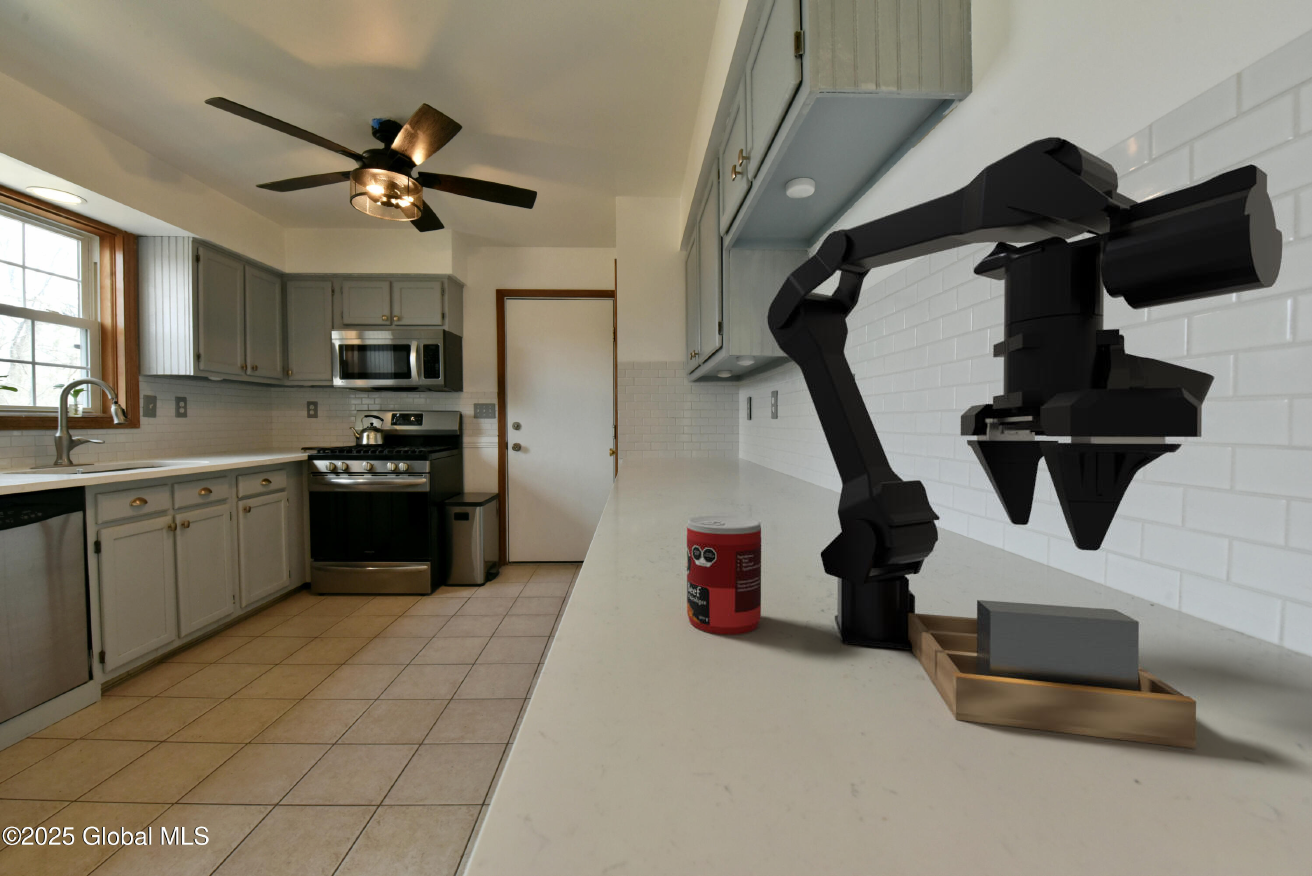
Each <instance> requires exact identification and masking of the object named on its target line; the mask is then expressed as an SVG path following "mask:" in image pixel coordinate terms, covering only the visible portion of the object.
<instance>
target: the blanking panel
mask: <svg viewBox="0 0 1312 876" xmlns="http://www.w3.org/2000/svg"><path fill="white" fill-rule="evenodd" d="M976 618H977V675H983V676H993V677H1003V678H1013V679H1023V680H1033V681H1042V682H1052V683H1062V684H1072V685H1082V686H1091V687H1101V688H1111V689H1121V690H1131V691H1138V666H1139V654H1140V653H1139V650H1140V649H1139V647H1140V646H1139V635H1140V633H1139V631H1140V630H1139V628H1140V626H1139V625H1140V624H1139V623H1140V622H1139V621H1138V620H1136V619H1135V618H1132V617H1131V616H1129V615H1127V614H1125V613H1123V612H1120V611H1119V610H1117V609H1114V608H1113V609H1112V608H1098V607H1097V608H1096V607H1085V606H1083V607H1082V606H1069V605H1054V604H1040V603H1026V602H1015V601H1014V602H1011V601H1010V602H1009V601H1000V600H999V601H997V600H983V599H977V600H976Z"/></svg>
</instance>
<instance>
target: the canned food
mask: <svg viewBox="0 0 1312 876" xmlns="http://www.w3.org/2000/svg"><path fill="white" fill-rule="evenodd" d="M686 613H687V617H688V620H689V623H690V624H691V625H692V626H693V627H694V628H695V629H698V630H701V631H702V632H706V633H709V634H715V635H724V636H727V635H728V636H734V635H743V634H747V633H750V632H753V631H754V630H756V629H757V627H759V624H760V622H761V619H762V526H761V522H760V521H759V520H756V519H754V518H750V517H743V516H737V515H735V516H734V515H703V516H695V517H692V518H690V519H688V520H687V524H686Z"/></svg>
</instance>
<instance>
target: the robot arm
mask: <svg viewBox="0 0 1312 876" xmlns="http://www.w3.org/2000/svg"><path fill="white" fill-rule="evenodd" d="M1118 179H1119V178H1118V173H1117V171H1116V170H1115V168H1114V167H1113V165H1112V164H1111V163H1109V162H1108V161H1105V160H1104V159H1102V158H1100V157H1099V156H1097V155H1095V154H1093V153H1091V152H1089V151H1087V150H1086V149H1084V148H1082V147H1080V146H1078V145H1077V144H1074V143H1072V142H1071V141H1069V140H1067V139H1064V138H1062V137H1059V136H1058V137H1057V136H1056V137H1055V136H1049V137H1045V138H1042V139H1041V138H1040V139H1037V140H1034V141H1032V142H1030V143H1028V144H1025V145H1024V146H1023V147H1020V148H1018V149H1017V150H1014V151H1013V152H1010V153H1009V154H1007V155H1006V156H1004V157H1002V158H1000V159H998V160H996V161H994V162H992V163H990V164H989V165H987V166H985V167H984V168H983V169H982V170H981V171H980V172H979V173H978V174H977V175H976V176H975V177H974V178H973V179H971V181H969V183H967V184H966V185H964V186H963V187H960V188H959V189H956V190H954V191H952V192H950V193H948V194H945V195H942V196H941V195H940V196H939V197H937V198H933V199H930V200H927V201H924V202H922V203H918V204H915V205H914V206H910V207H907V208H904V209H902V210H899V211H896V212H893V213H890V214H887V215H885V216H881V217H879V218H875V219H873V220H870V221H868V222H864V223H862V224H859V225H856V226H853V227H851V228H847V229H843V228H842V229H838V230H833V231H832V232H831V233H828V235H827V236H826V237H825V239H824V240H823V241H822V243H821V244H820V246H819V248H818V249H817V250H816V252H815V254H813V255H812V256H811V257H809V258H808V259H807V260H805V261H804V263H802V264H801V265H800V266H798V267H797V268H795V269H794V270H793V271H792V272H791V273H789V274H788V275H787V277H786V279H785V280H784V282H783V283H782V286H781V287H780V288H779V290H778V292H777V293H776V295H775V297H774V298H773V300H772V301H771V303H770V305H769V308H768V310H767V311H768V312H767V317H766V319H767V325H768V327H767V328H768V329H769V332H770V333H771V335H772V337H773V338H774V341H775V343H776V344H777V346H778V348H779V349H780V351H782V353H784V354H785V355H786V356H787V357H788V358H789V359H790V360H791V361H793V362H794V364H796V365H797V367H799V368H800V371H801V373H802V376H803V379H804V381H805V384H806V387H807V390H808V393H809V395H810V399H811V400H812V403H813V406H814V409H815V412H816V414H817V417H818V419H819V422H820V426H821V428H822V431H823V433H824V436H825V439H826V442H827V445H828V448H829V450H830V452H831V455H832V457H833V461H834V464H835V466H836V469H837V473H838V474H839V477H840V480H841V484H842V485H841V486H842V487H841V492H840V497H839V500H838V505H837V506H838V507H837V516H838V521H839V525H840V531H841V532H840V533H838V535H837V536H836V537H835V538H834V539H833V540H832V541H831V542H829V544H827V546H825V548H824V549H822V550H821V552H820V558H821V562H822V566H823V569H824V573H825V574H826V575H828V576H832V577H835V578H837V611H836V612H837V613H836V615H834V622H835V626H836V629H837V631H838V634H839V638H840V641H841V642H842V643H844V644H852V645H860V646H861V645H863V646H871V647H872V646H873V647H881V648H882V647H884V648H893V649H894V648H895V649H904V650H911V649H912V644H911V642H910V640H909V639H908V614H909V613H916V595H915V594H914V593H913V592H912V591H911V590H910V579H909V578H908V577H907V576H909V575H918V574H920V572H921V569H922V567H923V564H924V562H925V559H926V558H928V557H929V556H930V555H931V553H932V552H933V551H934V548H935V546H936V543H937V542H938V541H939V532H938V528H937V525H936V522H935V521H940V519H941V518H940V516H939V515H938V514H937V513H936V512H935V511H934V509H933V507H932V505H931V504H930V501H929V497H928V493H927V490H926V488H925V485H924V484H923V482H922V481H921V480H920V479H918V480H917V479H916V480H915V479H913V480H903V479H902V478H901V477H900V476H899V475H898V474H897V473H896V472H895V471H894V470H893V469H892V466H891V465H890V463H889V459H888V458H887V454H886V453H885V450H884V448H883V444H882V443H881V440H880V437H879V435H878V433H877V430H876V428H875V425H874V424H873V420H872V417H871V416H870V414H869V410H868V409H867V407H866V403H865V401H864V398H863V396H862V394H861V392H860V389H859V387H858V383H857V382H856V380H855V377H854V375H853V373H852V370H851V366H850V365H849V362H848V360H847V358H846V354H845V348H846V344H847V343H846V342H847V338H848V334H849V328H848V324H847V321H846V319H847V318H848V317H849V316H850V314H851V313H852V312H853V310H854V309H855V307H856V306H857V305H858V302H859V299H860V295H861V291H862V287H863V283H864V279H865V278H866V277H867V276H868V274H869V272H871V270H872V269H875V268H879V267H883V266H887V265H892V264H896V263H900V262H903V261H907V260H912V259H916V258H920V257H924V256H928V255H932V254H937V253H940V252H944V251H948V250H949V251H950V250H953V249H956V248H960V247H964V246H968V245H972V244H982V243H983V244H984V243H996V245H995V246H994V248H993V249H992V250H991V252H990V253H988V255H986V256H985V257H984V258H982V259H981V260H980V261H979V263H978V264H976V265H975V267H973V274H974V275H975V276H980V277H983V278H988V279H991V280H995V281H1004V283H1003V284H1004V285H1003V286H1004V289H1003V290H1004V291H1003V295H1004V298H1003V300H1004V301H1003V303H1004V305H1003V306H1004V307H1003V309H1004V310H1003V312H1004V313H1003V323H1004V324H1003V340H1002V341H999V342H998V343H997V342H996V343H995V344H993V347H992V349H993V351H992V352H993V353H992V356H993V357H992V358H1003V385H1002V386H1003V387H1002V389H1003V392H1002V393H1003V394H999V395H994V396H992V403H983V404H977V405H971V406H970V407H969V408H968V409H967V410H966V411H964V412H963V413H962V414H961V415H960V436H962V437H963V436H964V437H967V436H968V437H972V436H973V437H974V436H976V439H967V440H966V444H967V446H968V447H970V448H971V449H972V451H973V453H974V454H975V456H976V458H977V461H978V462H979V464H980V466H981V467H982V469H983V471H984V473H985V475H986V476H987V478H988V480H989V482H990V484H991V486H992V489H993V490H994V491H995V494H996V496H997V498H998V500H999V501H1000V503H1001V505H1002V506H1001V507H1003V510H1004V512H1005V513H1006V515H1007V518H1008V519H1009V521H1010V523H1011V524H1012V525H1015V526H1017V525H1018V526H1026V525H1028V524H1029V522H1030V517H1031V513H1032V510H1033V509H1032V508H1033V503H1034V495H1035V489H1036V483H1037V477H1038V471H1039V470H1038V469H1039V462H1040V461H1041V459H1043V458H1044V461H1045V465H1046V467H1047V470H1048V472H1049V475H1050V478H1051V481H1052V482H1051V483H1052V484H1053V487H1054V488H1053V489H1054V490H1055V493H1056V496H1057V498H1058V502H1059V505H1060V508H1061V511H1062V514H1063V517H1064V520H1065V522H1066V525H1067V529H1068V530H1069V533H1070V535H1071V538H1072V540H1073V543H1074V545H1075V547H1076V548H1077V549H1078V550H1081V551H1094V552H1096V551H1098V550H1099V549H1101V546H1102V544H1103V542H1104V540H1105V538H1106V535H1107V533H1108V530H1109V529H1110V527H1111V524H1112V522H1113V519H1114V518H1115V515H1116V512H1117V511H1118V509H1119V507H1120V505H1121V502H1122V500H1123V497H1124V496H1125V494H1126V492H1127V490H1128V488H1129V486H1130V485H1131V483H1132V481H1133V479H1134V478H1135V476H1136V474H1137V473H1138V472H1139V471H1140V470H1141V469H1143V468H1144V467H1146V466H1148V465H1149V464H1151V463H1152V462H1154V461H1155V460H1157V459H1158V458H1160V457H1163V455H1165V454H1168V453H1170V454H1171V453H1174V454H1175V453H1176V452H1177V451H1178V450H1179V449H1180V448H1181V447H1182V445H1183V444H1182V443H1168V442H1167V443H1166V438H1202V423H1203V421H1202V418H1203V416H1202V415H1203V413H1202V411H1203V410H1202V407H1203V404H1204V402H1205V399H1206V397H1207V395H1208V393H1209V391H1210V389H1211V387H1212V384H1213V382H1214V380H1215V376H1214V375H1212V374H1210V373H1207V372H1203V371H1201V370H1197V369H1193V368H1189V367H1185V366H1182V365H1178V364H1174V363H1171V362H1167V361H1163V360H1160V359H1156V358H1151V357H1148V356H1147V357H1145V356H1139V355H1134V354H1130V353H1126V349H1125V336H1124V334H1122V333H1121V334H1120V329H1119V328H1114V329H1113V328H1112V329H1108V328H1107V329H1104V320H1105V319H1104V311H1105V309H1104V306H1105V305H1104V304H1105V297H1104V294H1105V292H1104V291H1106V293H1107V295H1109V297H1110V298H1113V299H1118V298H1119V299H1120V298H1123V300H1124V301H1125V303H1126V304H1127V306H1129V307H1130V308H1131V309H1133V310H1142V309H1150V308H1155V307H1161V306H1166V305H1172V304H1177V303H1184V302H1189V301H1191V302H1192V301H1195V300H1202V299H1208V298H1213V297H1219V296H1226V295H1231V294H1237V293H1243V292H1251V291H1255V290H1256V291H1257V290H1261V289H1268V288H1271V287H1273V286H1274V284H1276V282H1277V279H1278V277H1279V275H1280V269H1281V265H1282V259H1283V233H1282V231H1281V230H1280V229H1278V228H1277V223H1276V217H1275V212H1274V211H1275V210H1274V208H1273V203H1272V200H1271V197H1270V195H1269V193H1268V173H1266V172H1265V171H1263V170H1262V169H1261V168H1260V167H1258V166H1257V165H1255V164H1251V163H1250V164H1248V165H1244V166H1241V167H1238V168H1235V169H1231V170H1229V171H1226V172H1223V173H1220V174H1218V175H1216V176H1214V177H1212V178H1208V179H1207V180H1206V181H1203V182H1201V183H1198V184H1195V185H1192V186H1189V187H1185V188H1182V189H1179V190H1175V191H1172V192H1169V193H1166V194H1163V195H1159V196H1157V197H1153V198H1150V199H1147V200H1144V201H1140V202H1138V201H1136V200H1135V199H1132V198H1130V197H1128V196H1126V195H1124V194H1122V193H1120V192H1118V188H1119V180H1118ZM1085 233H1086V234H1089V235H1092V236H1089V237H1084V238H1082V239H1078V240H1073V241H1067V240H1069V239H1073V238H1075V237H1077V236H1080V235H1083V234H1085ZM1013 243H1014V244H1024V245H1021V246H1016V245H1014V244H1013ZM837 271H839V272H840V275H839V280H838V285H837V287H836V288H835V290H834V291H833V292H832V294H831V295H829V294H824V293H819V292H818V293H817V292H813V291H814V290H816V289H817V288H818V287H820V286H821V285H822V284H824V283H825V282H826V281H828V280H829V279H830V278H831V277H833V276H834V275H835V274H836V273H837ZM1036 437H1056V438H1057V437H1060V438H1061V437H1063V438H1064V437H1065V438H1068V437H1070V442H1060V441H1059V440H1042V439H1041V440H1039V439H1038V440H1037V439H1036Z"/></svg>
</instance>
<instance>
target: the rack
mask: <svg viewBox="0 0 1312 876" xmlns="http://www.w3.org/2000/svg"><path fill="white" fill-rule="evenodd" d="M908 639H909V640H910V642H911V644H912V649H910V650H911V651H912V653H913V655H914V656H915V658H916V659H917V661H918V663H919V664H920V665H921V668H922V669H923V671H924V672H925V673H926V675H927V677H928V679H929V680H930V681H931V683H932V684H933V686H934V688H935V689H936V691H937V692H938V694H939V696H940V697H941V699H942V700H943V702H944V703H945V705H946V706H947V709H949V711H950V713H951V714H952V715H953V718H954V719H955V720H957V721H966V722H973V723H974V722H975V723H982V724H989V725H990V724H991V725H997V726H1007V727H1014V728H1015V727H1016V728H1023V729H1031V730H1041V731H1048V732H1058V733H1063V734H1064V733H1065V734H1073V735H1081V736H1088V737H1089V736H1090V737H1096V738H1104V739H1113V740H1120V741H1121V740H1122V741H1131V742H1137V743H1148V744H1155V745H1162V746H1163V745H1165V746H1170V747H1179V748H1186V749H1187V748H1188V749H1197V746H1196V743H1197V740H1196V739H1197V736H1196V735H1197V701H1196V700H1195V699H1193V698H1192V697H1190V696H1187V695H1185V694H1183V693H1181V692H1180V691H1179V690H1177V689H1175V688H1174V687H1172V686H1171V685H1169V684H1168V683H1166V682H1164V681H1163V680H1161V679H1159V678H1158V677H1156V675H1154V674H1152V673H1150V672H1148V671H1147V670H1146V669H1144V668H1142V667H1141V666H1139V665H1138V691H1131V690H1121V689H1111V688H1101V687H1091V686H1082V685H1072V684H1062V683H1052V682H1042V681H1033V680H1023V679H1013V678H1003V677H993V676H983V675H977V617H964V616H953V615H943V614H940V615H939V614H929V613H926V614H925V613H916V612H915V613H909V614H908Z"/></svg>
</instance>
